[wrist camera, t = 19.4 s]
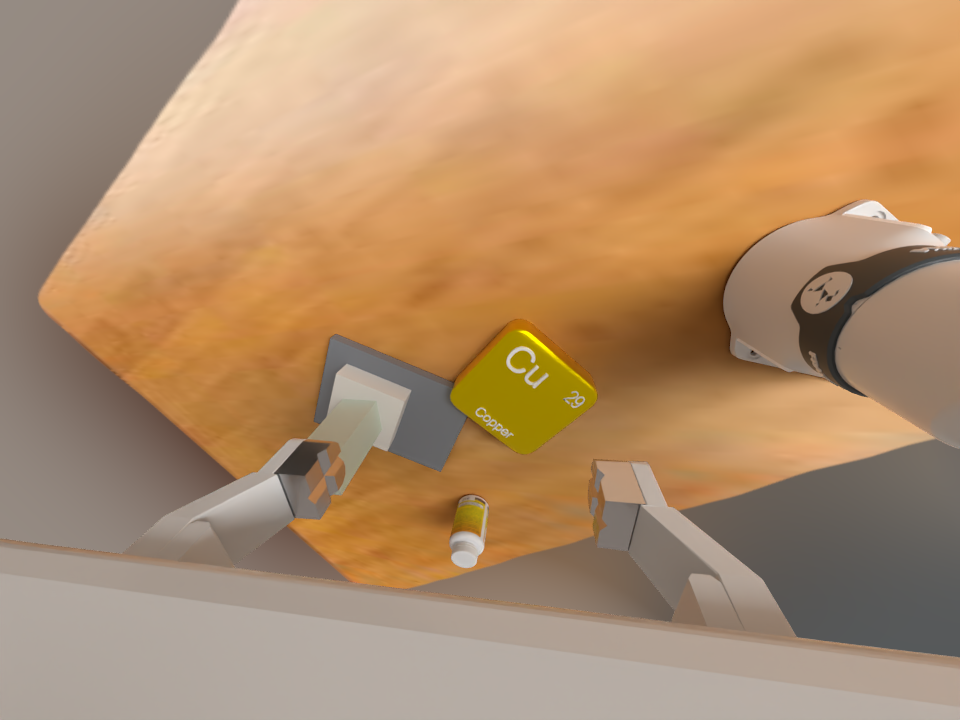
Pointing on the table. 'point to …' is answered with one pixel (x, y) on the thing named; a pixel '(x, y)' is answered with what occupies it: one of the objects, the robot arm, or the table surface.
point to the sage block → (351, 433)
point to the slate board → (421, 408)
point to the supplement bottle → (469, 530)
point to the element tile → (523, 388)
